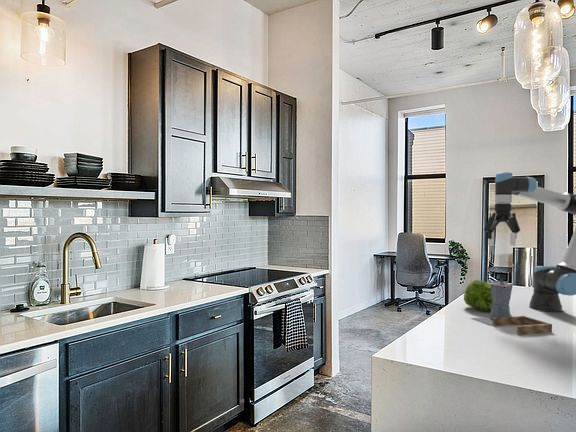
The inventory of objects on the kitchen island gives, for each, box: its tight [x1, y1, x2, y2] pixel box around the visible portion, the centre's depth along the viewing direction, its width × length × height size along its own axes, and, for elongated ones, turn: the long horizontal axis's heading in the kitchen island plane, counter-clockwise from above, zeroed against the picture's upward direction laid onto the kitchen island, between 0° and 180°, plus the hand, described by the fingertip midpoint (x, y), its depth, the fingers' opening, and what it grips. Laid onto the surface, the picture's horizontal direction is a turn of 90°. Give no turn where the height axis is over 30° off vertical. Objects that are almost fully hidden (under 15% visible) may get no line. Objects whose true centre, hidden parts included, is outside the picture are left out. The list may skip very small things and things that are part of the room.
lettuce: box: [463, 279, 493, 312], centre depth 223 cm, size 16×21×15 cm
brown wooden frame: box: [491, 315, 553, 336], centre depth 189 cm, size 18×15×4 cm
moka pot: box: [489, 278, 514, 320], centre depth 203 cm, size 10×15×20 cm, turn 171°
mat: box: [471, 316, 493, 326], centre depth 202 cm, size 16×12×1 cm
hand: (501, 245), depth 215 cm, fingers open, 13 cm apart
